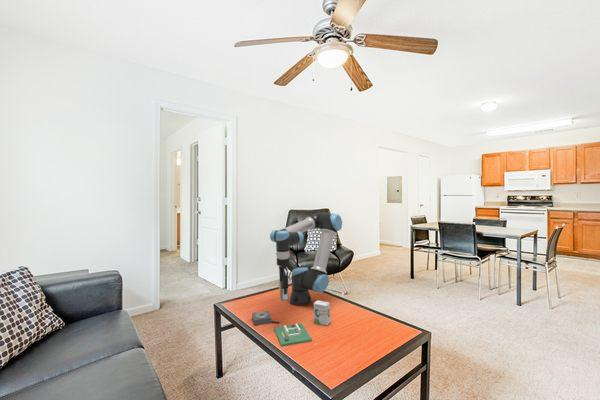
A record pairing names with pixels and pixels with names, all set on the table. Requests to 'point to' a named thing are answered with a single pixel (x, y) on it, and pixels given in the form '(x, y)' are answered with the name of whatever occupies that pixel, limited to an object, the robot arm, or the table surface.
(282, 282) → the plug
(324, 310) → the ink box
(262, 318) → the speaker
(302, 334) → the board
